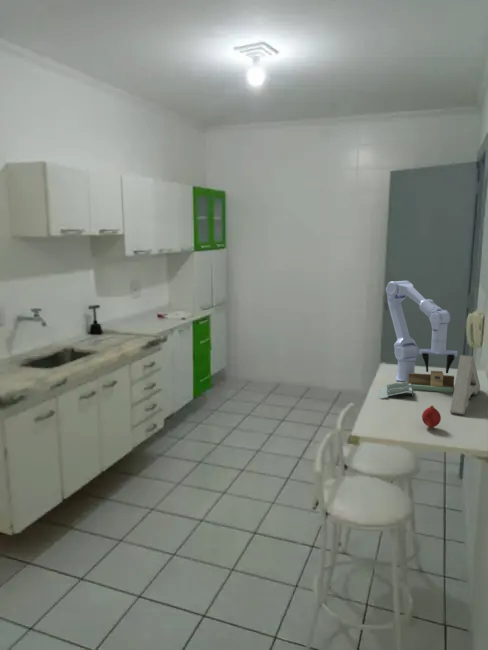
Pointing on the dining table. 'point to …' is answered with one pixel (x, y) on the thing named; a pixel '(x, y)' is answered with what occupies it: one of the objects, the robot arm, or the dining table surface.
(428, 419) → the onion
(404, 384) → the metal bracket
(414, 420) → the dining table surface
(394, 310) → the robot arm
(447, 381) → the wall board
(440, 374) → the cabinet block
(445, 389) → the cleat ledge
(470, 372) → the white letter a
